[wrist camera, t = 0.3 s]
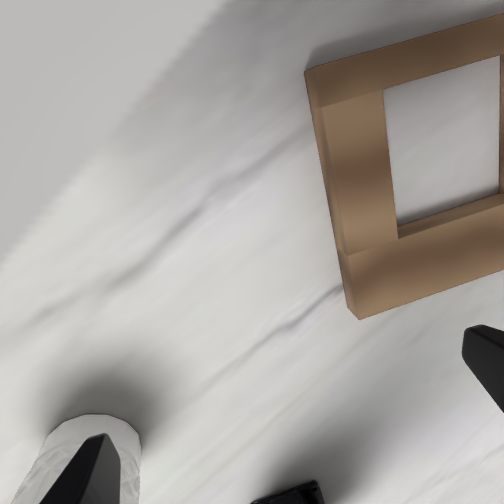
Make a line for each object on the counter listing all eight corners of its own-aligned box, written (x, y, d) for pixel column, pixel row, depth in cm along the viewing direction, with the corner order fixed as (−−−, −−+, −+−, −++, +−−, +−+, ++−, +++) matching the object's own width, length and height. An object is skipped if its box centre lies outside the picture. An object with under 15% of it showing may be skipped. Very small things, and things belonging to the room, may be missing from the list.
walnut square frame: (515, 249, 26) (538, 257, 25) (347, 307, 25) (359, 320, 23) (523, 9, 20) (553, -1, 19) (303, 72, 19) (315, 66, 18)
